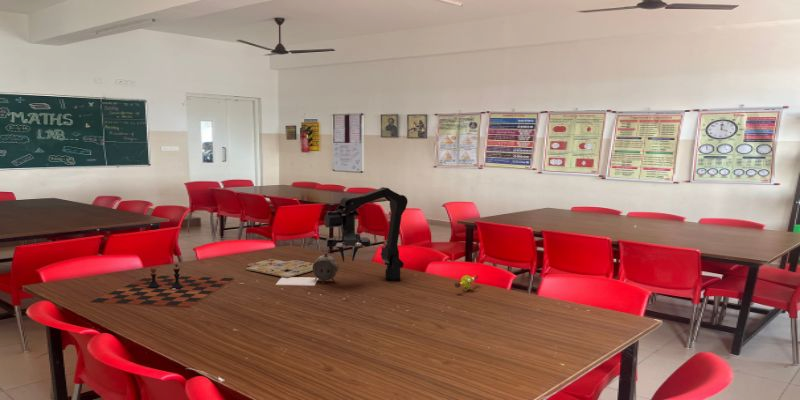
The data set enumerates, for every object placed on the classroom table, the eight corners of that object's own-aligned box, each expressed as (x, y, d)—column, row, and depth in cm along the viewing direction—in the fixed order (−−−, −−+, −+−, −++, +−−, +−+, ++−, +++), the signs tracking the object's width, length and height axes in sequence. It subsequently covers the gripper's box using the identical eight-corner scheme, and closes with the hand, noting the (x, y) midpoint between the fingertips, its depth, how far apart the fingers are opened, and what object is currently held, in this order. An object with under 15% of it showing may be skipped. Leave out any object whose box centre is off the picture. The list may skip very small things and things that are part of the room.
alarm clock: (337, 281, 231) (339, 246, 228) (335, 285, 226) (336, 250, 223) (314, 278, 232) (315, 244, 229) (310, 282, 227) (312, 247, 224)
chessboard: (234, 280, 231) (233, 256, 229) (189, 308, 191) (188, 280, 190) (150, 277, 234) (149, 253, 233) (89, 304, 195) (88, 276, 194)
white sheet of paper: (318, 278, 235) (318, 277, 235) (314, 285, 223) (314, 284, 223) (281, 277, 235) (281, 277, 235) (275, 285, 223) (275, 284, 223)
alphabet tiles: (327, 267, 256) (327, 264, 255) (287, 278, 232) (287, 275, 232) (279, 258, 273) (279, 256, 273) (237, 268, 250) (237, 265, 250)
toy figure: (462, 296, 212) (462, 280, 211) (450, 294, 215) (451, 278, 214) (482, 287, 226) (483, 272, 225) (471, 285, 229) (472, 270, 228)
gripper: (328, 229, 211) (327, 266, 213) (372, 228, 215) (372, 265, 217) (326, 225, 222) (326, 260, 224) (368, 224, 226) (368, 259, 228)
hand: (348, 261), depth 223 cm, fingers open, 4 cm apart
